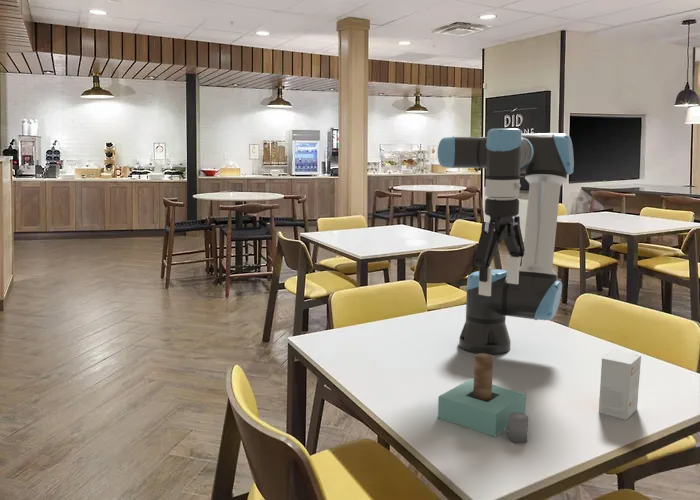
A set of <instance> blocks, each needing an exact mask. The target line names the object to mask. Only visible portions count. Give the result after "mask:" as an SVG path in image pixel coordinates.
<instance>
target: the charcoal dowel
mask: <svg viewBox="0 0 700 500" xmlns="http://www.w3.org/2000/svg"><path fill="white" fill-rule="evenodd" d="M529 420H530V419H529V416H528V414H526V413H525V414H524V413H519V412H513V413H510V414H509V415H508V428H507V440H508V441H509V442H510V443H512V444H517V445H521V444H526V443H528V441H529V440H528V438H529V437H528V435H529Z"/></svg>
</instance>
